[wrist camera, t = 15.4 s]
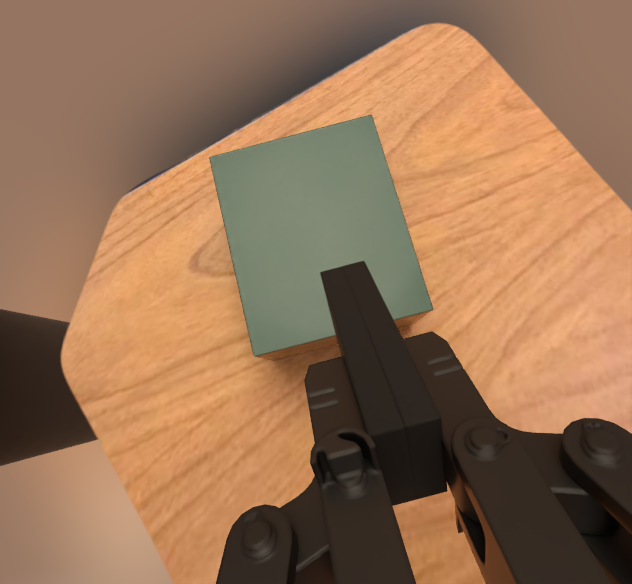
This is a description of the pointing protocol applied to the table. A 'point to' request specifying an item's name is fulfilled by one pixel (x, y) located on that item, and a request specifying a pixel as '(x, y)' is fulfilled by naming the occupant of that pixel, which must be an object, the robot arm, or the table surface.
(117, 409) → the table surface
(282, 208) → the bin lid
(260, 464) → the table surface
